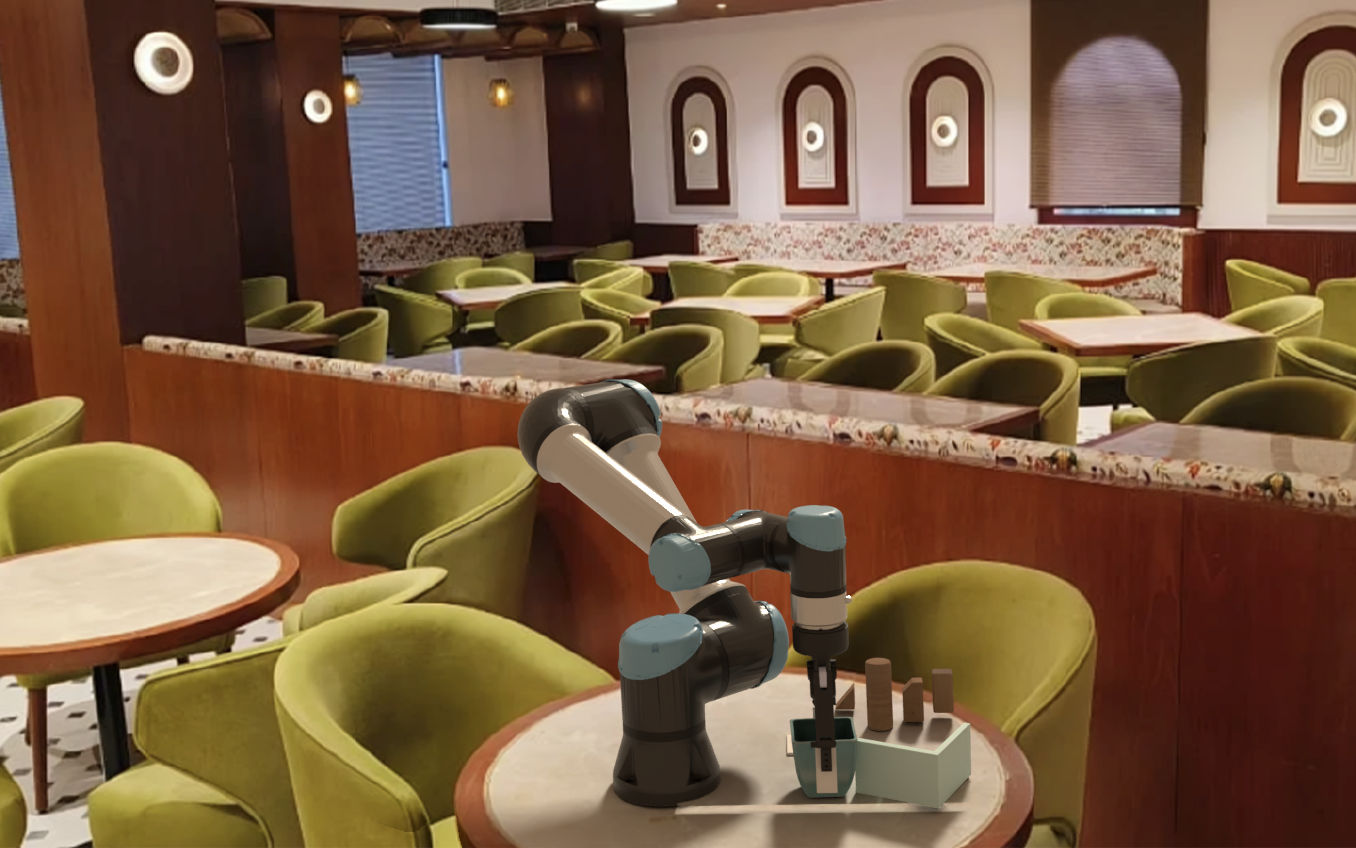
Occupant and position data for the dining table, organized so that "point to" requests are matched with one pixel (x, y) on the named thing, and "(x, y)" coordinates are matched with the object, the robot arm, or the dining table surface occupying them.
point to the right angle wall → (914, 769)
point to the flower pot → (806, 759)
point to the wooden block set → (912, 695)
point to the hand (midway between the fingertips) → (825, 771)
